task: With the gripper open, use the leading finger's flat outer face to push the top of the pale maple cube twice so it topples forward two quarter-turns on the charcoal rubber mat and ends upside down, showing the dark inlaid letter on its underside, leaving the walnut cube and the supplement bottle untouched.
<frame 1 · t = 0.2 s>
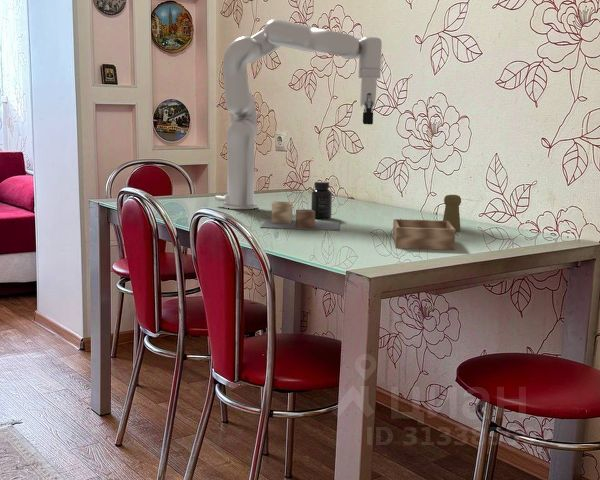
hand: (367, 123, 272), 31 cm above the table, fingers open, 9 cm apart
supplement bottle: (321, 218, 260), on the table
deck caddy: (422, 243, 216), on the table
cork: (450, 230, 241), on the table
mat: (301, 225, 244), on the table
maple block: (281, 221, 248), resting on mat
walnut block: (305, 226, 239), resting on mat
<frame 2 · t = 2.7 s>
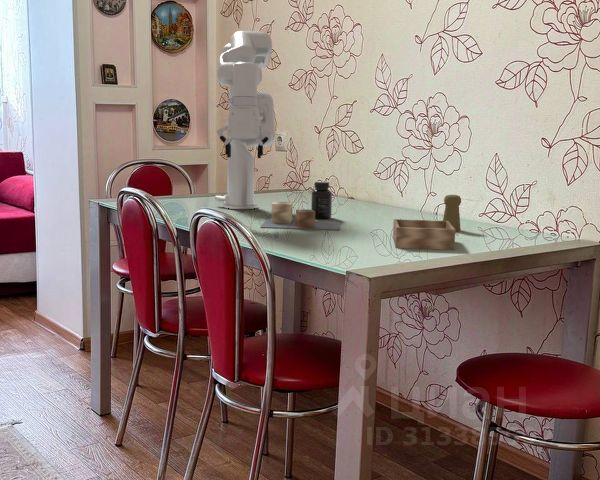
hand: (244, 157, 246), 20 cm above the table, fingers open, 9 cm apart
nothing on the table moved.
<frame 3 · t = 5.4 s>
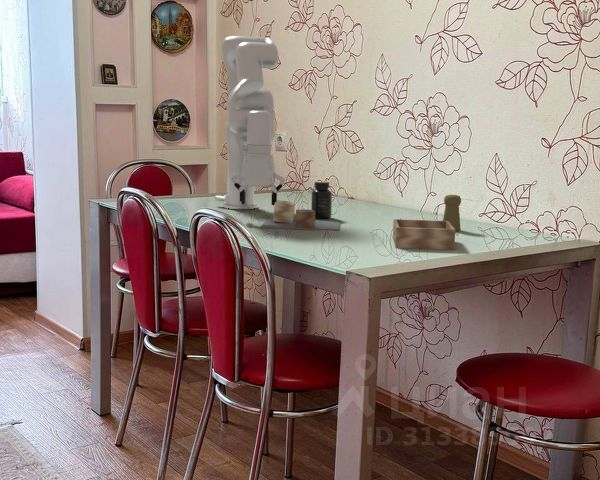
hand: (258, 204, 248), 6 cm above the table, fingers open, 9 cm apart
maple block: (283, 220, 248), point 1 cm above the table, tilted 5°, touching gripper, mat
everything else where it was.
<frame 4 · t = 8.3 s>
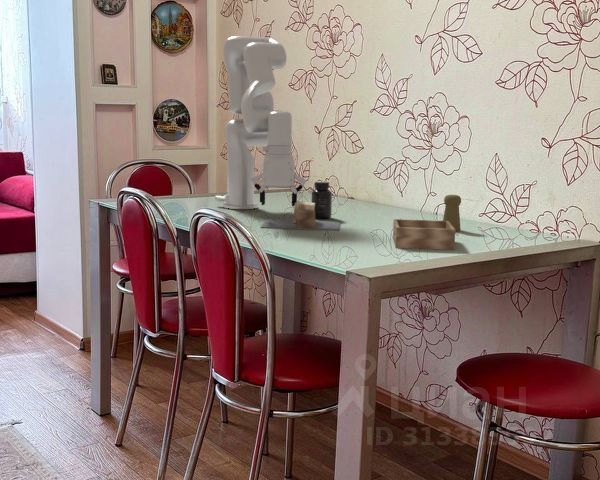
hand: (278, 205, 247), 6 cm above the table, fingers open, 9 cm apart
maple block: (294, 211, 247), point 4 cm above the table, tilted 94°, touching gripper, mat
everything else where it was.
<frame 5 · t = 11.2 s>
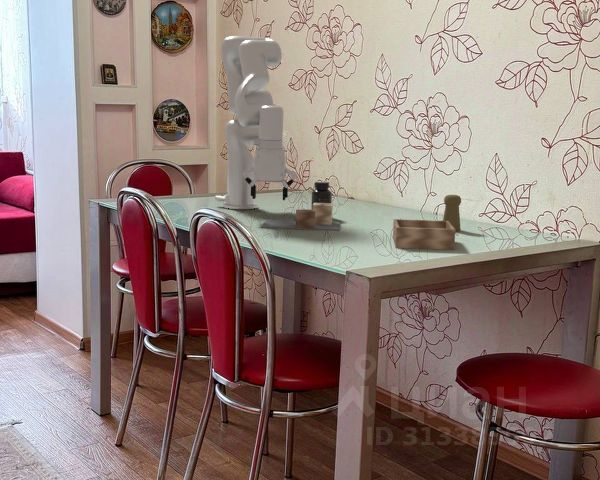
hand: (269, 199, 248), 7 cm above the table, fingers open, 9 cm apart
maple block: (322, 204, 246), point 6 cm above the table, tilted 180°, touching mat
everything else where it was.
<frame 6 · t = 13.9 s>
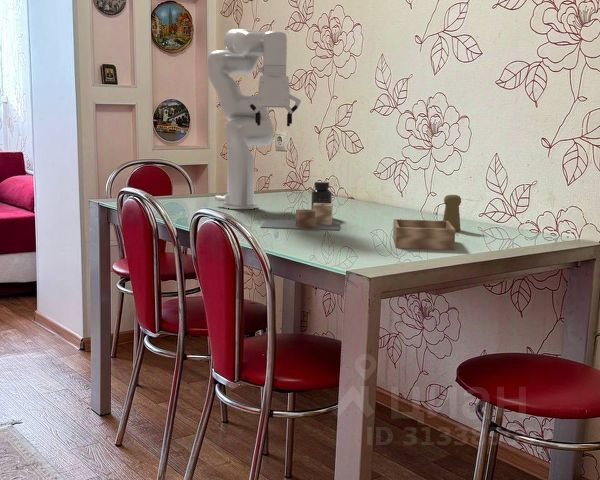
hand: (273, 125, 251), 30 cm above the table, fingers open, 9 cm apart
nothing on the table moved.
at the end: maple block tilted 180°; maple block inside the target area (1.1 cm from its centre), point 6.3 cm above the table; walnut block moved 0.0 cm from its start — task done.
